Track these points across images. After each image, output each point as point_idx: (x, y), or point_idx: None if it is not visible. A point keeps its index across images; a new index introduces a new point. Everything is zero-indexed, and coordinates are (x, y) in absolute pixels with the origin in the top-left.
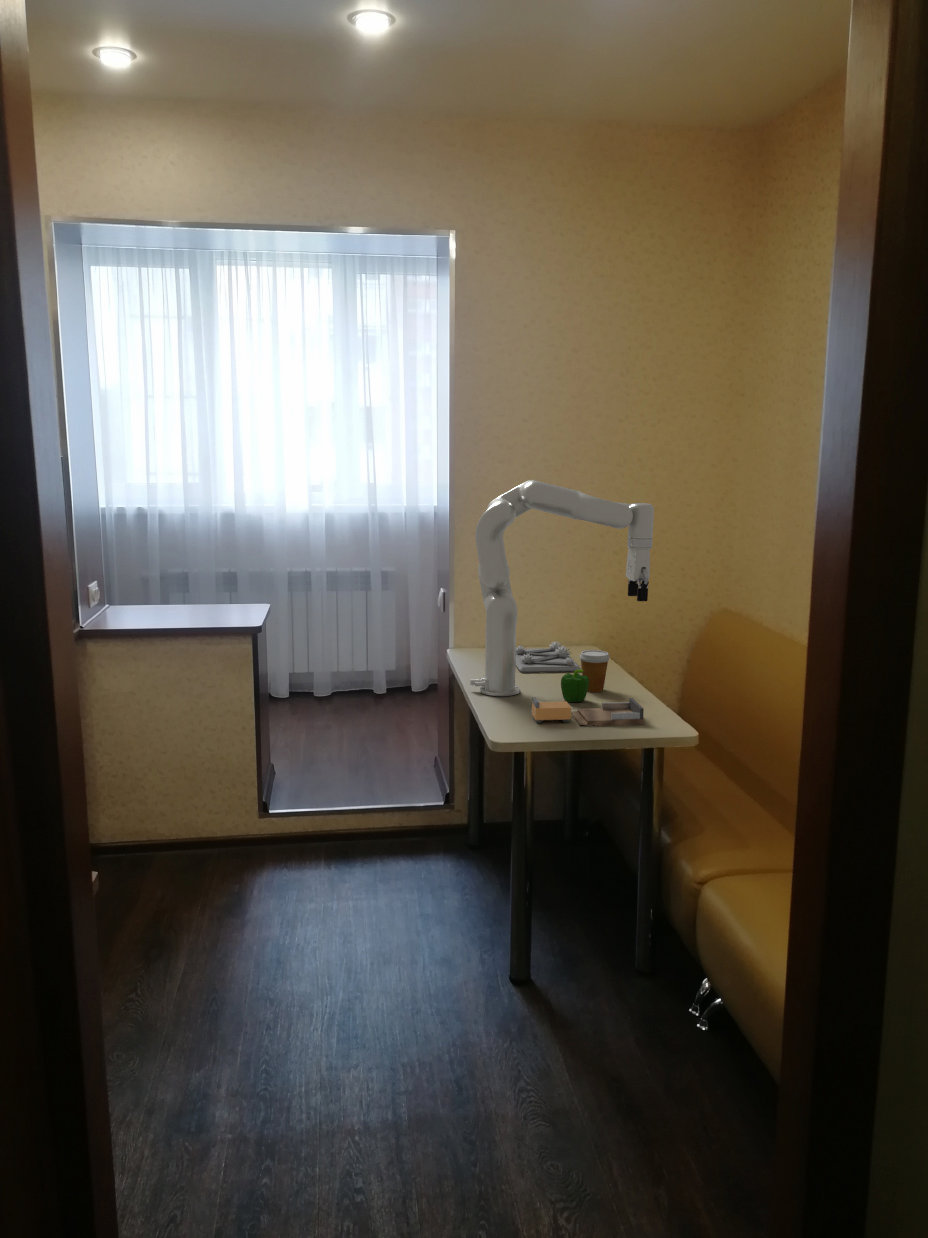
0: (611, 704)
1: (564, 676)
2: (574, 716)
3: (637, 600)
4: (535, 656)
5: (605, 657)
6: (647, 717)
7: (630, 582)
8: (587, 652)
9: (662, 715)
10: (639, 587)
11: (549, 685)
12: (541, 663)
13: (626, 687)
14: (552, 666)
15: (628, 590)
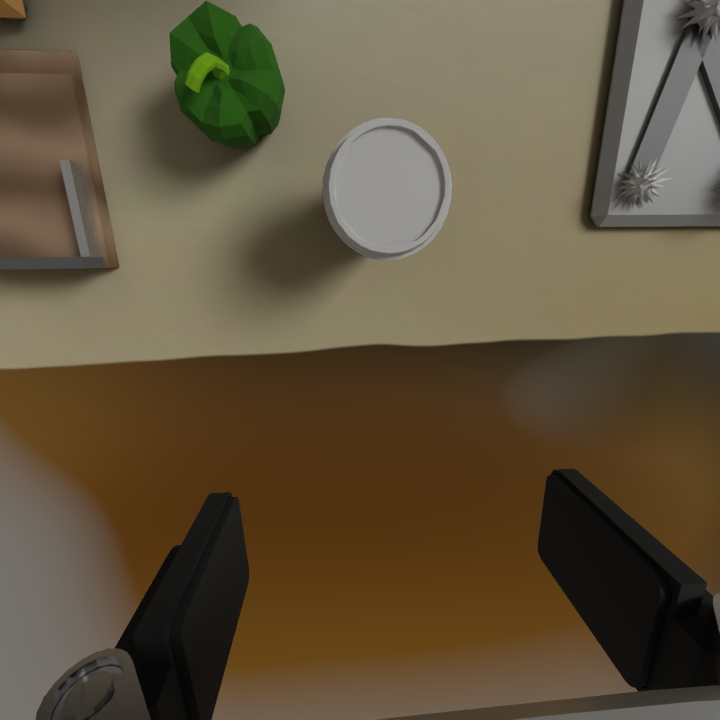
0: (68, 193)
1: (204, 10)
2: (14, 50)
3: (209, 494)
4: None
5: (340, 230)
6: (75, 301)
7: (706, 629)
8: (424, 163)
9: (102, 347)
10: (100, 675)
11: (440, 64)
12: (669, 70)
13: (392, 322)
14: (628, 113)
15: (597, 508)
